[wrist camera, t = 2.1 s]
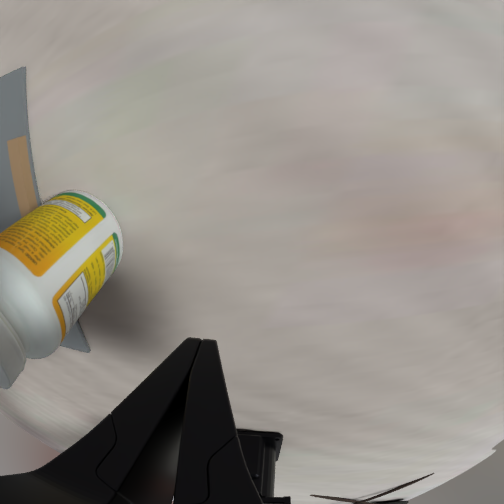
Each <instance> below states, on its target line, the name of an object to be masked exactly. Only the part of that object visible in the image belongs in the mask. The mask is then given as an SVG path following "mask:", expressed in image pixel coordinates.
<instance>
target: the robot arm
mask: <svg viewBox="0 0 504 504" xmlns="http://www.w3.org/2000/svg"><path fill="white" fill-rule="evenodd" d="M282 441H283V435H282V434H276V433H255V432H241V431H237V430H236V426H235V422H234V418H233V414H232V409H231V405H230V401H229V396H228V392H227V388H226V383H225V379H224V374H223V369H222V365H221V360H220V355H219V350H218V345H217V341H216V340H211V339H203V340H201V339H200V338H191V337H189V338H187V339H185V340H184V341H183V342H182V343H181V344H180V345H179V346H178V347H177V348H176V349H175V350H174V351H173V352H172V353H171V354H170V355H169V356H168V357H167V358H166V359H165V360H164V361H163V362H162V363H161V364H160V365H159V366H158V367H157V368H156V369H155V370H154V371H153V372H152V373H151V374H150V375H149V376H148V377H147V378H146V379H145V380H144V381H143V382H142V383H141V384H140V385H139V386H138V387H137V388H136V389H135V390H134V391H133V392H131V393H130V394H129V395H128V396H127V397H126V398H125V399H124V400H123V401H122V402H121V403H120V404H119V405H118V406H117V407H116V408H115V409H114V410H113V411H112V412H111V414H109V415H108V416H106V417H105V418H104V419H103V420H102V421H101V422H100V423H99V424H98V425H97V426H96V427H95V428H94V429H92V430H91V431H90V432H89V433H88V434H87V435H85V436H84V437H83V438H81V439H80V440H79V441H78V442H76V443H75V444H74V445H72V446H71V447H70V448H68V449H67V450H65V451H64V452H63V453H61V454H60V455H59V456H57V457H56V458H54V459H53V460H52V461H50V462H49V463H47V464H46V465H44V466H43V467H41V468H39V469H36V470H34V471H31V472H27V473H21V474H13V475H5V476H0V504H172V500H173V496H174V501H173V504H291V499H290V496H289V497H274V481H275V461H277V460H278V457H279V453H280V449H281V445H282Z"/></svg>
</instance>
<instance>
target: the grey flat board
mask: <svg viewBox="0 0 504 504" xmlns="http://www.w3.org/2000/svg"><path fill="white" fill-rule="evenodd" d="M39 206H41V203H40V198H39V193H38V188H37V183H36V178H35V172H34V166H33V159H32V153H31V145H30V137H29V127H28V116H27V100H26V67H21V68H19V69H17V70H14V71H12V72H10V73H8V74H6V75H4V76H2V77H0V233H1V232H3V231H4V230H6V229H7V228H8V227H10V226H11V225H13V224H14V223H15V222H17V221H18V220H20V219H21V218H23V217H24V216H26V215H27V214H29V213H30V212H32V211H33V210H35V209H36V208H38V207H39ZM59 346H63V347H67V348H71V349H74V350H79V351H83V352H87V353H89V352H90V348H89V346H88V344H87V341H86V339H85V337H84V335H83V332H82V330H81V328H80V325H79V323H78V321H76V323H75V324H74V325H73V327H72V328H71V330H70V331H69V332H68V334H67V335H66V337H65V338H64V340H63V341H62V342H61V344H60V345H59Z"/></svg>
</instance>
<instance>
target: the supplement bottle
mask: <svg viewBox="0 0 504 504" xmlns="http://www.w3.org/2000/svg"><path fill="white" fill-rule="evenodd" d="M122 253H123V237H122V233H121V229H120V226H119V224H118V222H117V220H116V218H115V216H114V215H113V213H112V212H111V210H110V209H109V208H108V207H107V206H106V205H105V204H104V203H103V202H102V201H101V200H99V199H98V198H96V197H94V196H93V195H91V194H89V193H86V192H83V191H79V190H70V191H66V192H63V193H61V194H59V195H57V196H55V197H53V198H52V199H50V200H49V201H47V202H46V203H44V204H42V205H41V206H39V207H38V208H36V209H35V210H33V211H32V212H30V213H29V214H27V215H26V216H24V217H23V218H21V219H20V220H18V221H17V222H15V223H14V224H13V225H11V226H10V227H8V228H7V229H6V230H4V231H3V232H1V233H0V388H3V389H9V388H10V387H11V386H12V384H13V383H14V381H15V380H16V378H17V377H18V376H19V374H20V373H21V372H22V371H23V369H24V367H25V363H26V358H30V359H41V358H45V357H47V356H49V355H51V354H52V353H53V352H54V351H55V350H56V349H57V348H58V347H59V345H60V344H61V342H62V341H63V340H64V338H65V337H66V335H67V334H68V332H69V331H70V330H71V328H72V327H73V325H74V324H75V323H76V321H77V320H78V318H79V317H80V316H81V314H82V313H83V312H84V310H85V309H86V307H87V306H88V305H89V303H90V302H91V301H92V299H93V298H94V297H95V295H96V294H97V293H98V291H99V290H100V289H101V288H102V286H103V285H104V284H105V282H106V281H107V280H108V279H109V277H110V276H111V275H112V273H113V272H114V271H115V269H116V268H117V266H118V265H119V263H120V260H121V257H122Z"/></svg>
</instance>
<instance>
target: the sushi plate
mask: <svg viewBox="0 0 504 504" xmlns="http://www.w3.org/2000/svg"><path fill="white" fill-rule="evenodd" d="M432 474H434V473H432ZM432 474H430V475H432ZM430 475H427V476H425V477H422V478H420V479H417V480H414V481H412V482H409V483H406V484H404V485H401V486H399V487H397V488H394V489H392V490H389V491H387V492H384V493H382V494H379V495H377V496H374V497H371V498H368V499H366V500H363V501H355V500H350V499H344V498H339V497H328V496H319V495H310V496H314V497H319V498H325V499H331V500H337V501H344V502H352V503H354V504H377V503H369V502H366V501H369V500H372V499H375V498H378V497H381V496H383V495H386V494H389V493H391V492H394V491H396V490H399V489H401V488H404V487H406V486H409V485H411V484H413V483H415V482H418V481H420V480H422V479H424V478H426V477H428V476H430ZM407 503H408V501H399V502H386V503H378V504H407Z"/></svg>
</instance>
